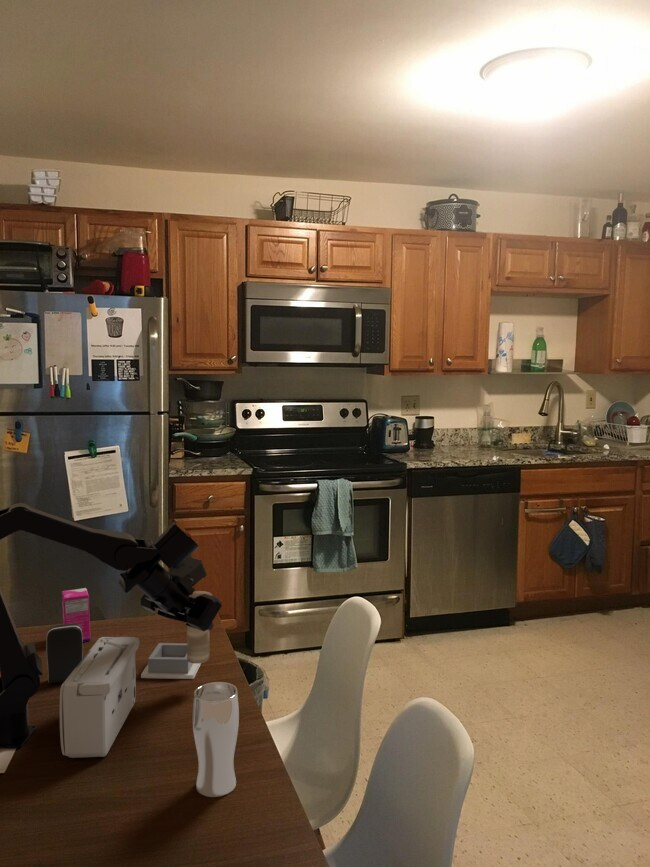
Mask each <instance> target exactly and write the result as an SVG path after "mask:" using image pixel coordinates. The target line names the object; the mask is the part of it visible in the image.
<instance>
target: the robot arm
mask: <svg viewBox="0 0 650 867" xmlns="http://www.w3.org/2000/svg"><path fill="white" fill-rule="evenodd" d="M19 531H22V532H26V533H29V534H31V535H35V536H38V537H41V538H45V539H47V540H51V541H53V542H57V543H60V544H61V545H62V544H63V545H66V546H68V547H71V548H74V549H77V550H81V551H84V552H86V553H88V554H90V555H91V556H93V557H94V558H96V559H98V560H99V561H100V562H101V563H103V564H106V565H108V566H110V567H112V568H113V569H115V570H117V571H122V572H120V573H119V579H118V585H119V586H120V588H121V589H122V590H123V591H124V593H125V594H128V593H129V592H130V591H131V590H132V589H133V588H135V587H136V588H137V589H138V590H140V591H141V592H142V593H143V595H142V597H141V598H140V606H141V607H142V608H143V609H144V610H146V611H148V612H151V613H155V612H156V609H157V613H156V614H157V615H159V616H161V617H162V618H163V617H164V618H166V619H169V620H175V621H178V622H179V621H180V622H183V623H185V626H186V627H187V626H190V627H192V628H196V629H199V630H201V631H206V630H209V631H212V630H213V628H214V623H213V621H214V620H215V618H216V617H217V615H218V613H219V611H220V610H221V609H222V606H223V602H222V601H220V599H218V597H216V596H213V595H212V596H210V595H207V594H202V595H199V596H197V597H196V598H192V597H189V595H192V594H193V592H194V591H195V588H194V587H195V585H196V584H198V583H199V582H200V581H201V580H202V579H204V578H206V577H207V576H208V573H207V570H206V568H205V566H204V563H203V561H202V560H201V559H197V558H194V557H191V556H192V555H193V554H194V553H195V551H197V550H198V549H199V548H200V546H199V544H198V543H196V541H195V540H194V538H192V537H191V536H190V535H188V533H187V532H185V531H184V530H182V529H181V528H180V526H178V525H177V524H176V523H175V522H174V521H173V522H171V523H170V524H169V525H168V526H167V527H166V529H165V530H164V531H163V532H162V533H161V534H160V535H159V536H158V537H157V538H156V539H155V540H154V541H152V539H143V538H134V537H133V536H132V535H131V534H129V533H127V532H124V531H123V532H122V531H118V530H111V529H99V528H93V527H89V526H87V525H83V524H80V523H77V522H74V521H73V520H68V519H66V518H63V517H61V516H57V515H54V514H51V513H49V512H45V511H42V510H40V509H36V508H34V507H31V506H29V505H28V504H27V503H22V502H18V503H14V504H12V505H10V506H8V507H5V508H3V509H0V541H1V540H3V539H5V538H6V537H9V536H10V535H12V534H13V533H16V532H19ZM160 561H161V562H162V563H163V564H164V565H165V566H166V567H167V568H169V571H170V572H169V571H168V570H167V569H165V567H164V566H163V565H162V564H160V563H159V562H160ZM123 571H124V572H123ZM187 610H189V611H188V612H189V613H188V614H187ZM41 676H43V662H42V658H41V657H40V656H39V655H38V653H37V650H36V643H35V641H31V642H29V643H27V644H26V643H25V641H24V640H23V639H22V638H21V636H20V634H19V631H18V629H17V627H16V624H15V620H14V618H13V616H12V614H11V611H10V609H9V605H8V603H7V601H6V597H5V595H4V593H3V590H2V587H1V586H0V748H4V749H5V748H7V749H8V748H10V749H12V748H13V749H15V748H17V749H18V748H19V749H20V748H22V746H24V744H25V743H26V742H27V741H28V740H29V739H30V737H31V736H33V734H34V732H36V730H37V729H38V726H37V725H34V724H33V725H30V724H29V700H30V698H32V697H33V696H34V695H35V694H37V692H38V690H39V689H40V686H41Z"/></svg>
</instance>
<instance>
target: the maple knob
mask: <svg viewBox="0 0 650 867" xmlns="http://www.w3.org/2000/svg"><path fill="white" fill-rule="evenodd" d="M202 594H207V595H210V596H213V593H211V592H209V591H207V590H206V591H205V590H203V591H202V590H200V591H199V590H196V591H194V592H193V594H192V595H189V597H192V598H196V597H197V596H199V595H202ZM188 611H189V610H187V614H188V613H189V612H188ZM186 644H187V661H188V662H190V663H196V664H197V663H201V664H202V663H203V664H204V663H206V662H208V661H209V660H210V630H206V631H201V630H199V629H196V628H192V627H190V626H187V625H186Z"/></svg>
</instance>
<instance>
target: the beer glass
mask: <svg viewBox="0 0 650 867" xmlns="http://www.w3.org/2000/svg"><path fill="white" fill-rule="evenodd" d="M238 696H239V695H238V688H237V687H236V685H234V684H232V683H230V682H226V681H214V682H213V681H211V682H207V683H204V684H202V685H200V686H198V687H197V688H196V689H194V691H193V705H192V706H193V707H192V732H193V738H194V742H195V748H196V754H197V759H198V769H197V770H198V771H197V772H198V773H197V778H196V783H195V784H196V786H195V789H196V790H197V793H199V794H200V795H201V796H204V797H207V798H220V797H223V796H226V795H228V794H230V793H232V792H233V791H234V790H235V788H236V786H237V785H236V784H237V779H236V774H235V766H234V760H235V758H234V757H235V752H236V751H235V750H236V747H237V746H236V745H237V740H238V739H237V738H238V735H239V724H240V723H239V721H240V710H239V709H240V708H239V697H238Z"/></svg>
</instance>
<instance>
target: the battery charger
mask: <svg viewBox="0 0 650 867" xmlns="http://www.w3.org/2000/svg"><path fill="white" fill-rule="evenodd" d="M45 647H46V648H45V650H46V662H47V683H48V684H50V685H51V684H59V683H60V684H61V683H64V681H65V680H66V679H67V678H68V676H69V675H70V674H71V673H72V672H73V670H74V669H75V668H76V667H77V665H78V664H79V663H80V662H81V660H82V659H83V658H84V657H83V656H84V652H83V651H84V642H83V636H82V630H81V627H80V626H79V625H78V624H74V623H72V624H63V623H62V624H58V625H57V624H56V625H53V626H51V627H49V628H48V630H47V633H46V645H45Z"/></svg>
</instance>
